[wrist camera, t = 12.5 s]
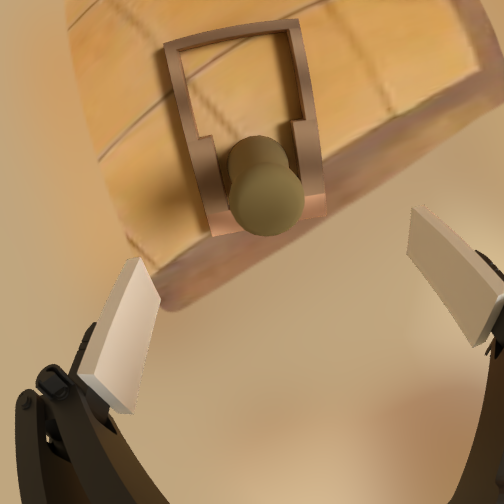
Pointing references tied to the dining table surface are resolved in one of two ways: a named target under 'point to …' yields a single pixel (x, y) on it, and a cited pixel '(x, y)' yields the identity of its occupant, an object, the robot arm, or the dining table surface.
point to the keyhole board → (204, 146)
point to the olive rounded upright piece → (263, 187)
